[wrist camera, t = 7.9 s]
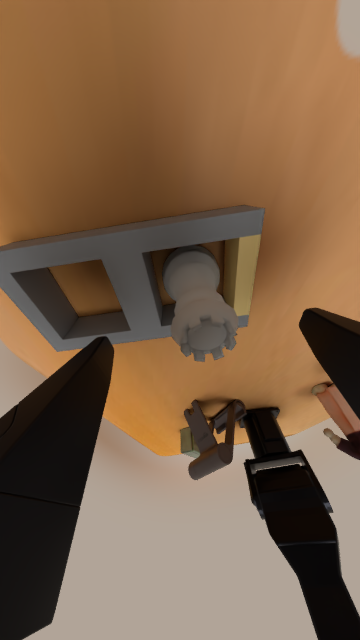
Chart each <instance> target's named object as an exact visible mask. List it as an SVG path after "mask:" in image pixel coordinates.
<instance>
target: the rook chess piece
mask: <svg viewBox="0 0 360 640" xmlns="http://www.w3.org/2000/svg"><path fill="white" fill-rule="evenodd" d="M162 277H163V283H164V287H165V290H166V291H167V293H168V294H169V295H170V297H171V298H172V299H173V300H175V301H176V306H175V310H174V312H175V317H174V318H173V321H172V325H171V328H170V330H171V334H172V338H173V339H174V340H175V341H176V343H177V344H178V345H179V346H181V352H182V353H183V354H184V355H185V356H186V357H187V356H189V355H191V352H192V353H194V360H195V361H202V362H204V361H205V355H204V354H209V353H212V354H213V357H214V360H217V359H219V358H222V357H224V355H223V352H222V349H223V348H224V347H225V346H226V349H228V350H232V349H233V348H234V346H235V345H236V341H235V339H234V336H235V335H237V334H236V331H237V329H238V316H237V314H236V312H235V310H234V309H233V308H232V307H230V306H229V305H228V304H226V303H225V302H224V300H223V298H222V296H221V295H220V294H219V293H217V292H216V290H217V287H218V285H219V282H220V269H219V267H218V264H217V262H216V260H215V258H214V255H213V254H212V253H210V252H209V251H208V250H207V249H206V248H204V247H200V246H196V245H188V246H183V247H180V248H178V249H177V250H175V251H174V252H172V253H171V254H170V255H169V257H168V258H167V260H166V261H165V263H164V266H163V271H162Z"/></svg>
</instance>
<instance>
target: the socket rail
mask: <svg viewBox="0 0 360 640" xmlns="http://www.w3.org/2000/svg"><path fill="white" fill-rule="evenodd" d="M264 213H265V208H259V207H253V206H247V205H241V206H235V207H229V208H222V209H216V210H210V211H204V212H198V213H192V214H185V215H179V216H173V217H167V218H161V219H155V220H148V221H142V222H136V223H130V224H124V225H118V226H111V227H105V228H99V229H93V230H87V231H81V232H75V233H68V234H62V235H56V236H50V237H44V238H38V239H31V240H25V241H19V242H13V243H10V244H7V245H4V246H1V247H0V287H1V289H2V290H3V291H4V292H5V293H6V294H7V295H8V296H9V298H10V299H11V300H12V301H13V302H14V303H15V304H16V306H17V307H18V308H19V309H20V310H21V311H22V312H23V314H24V315H25V316H26V317H27V318H28V319H29V320H30V322H31V323H32V324H33V325H34V326H35V327H36V328H37V329H38V331H39V332H40V333H41V334H42V335H43V336H44V337H45V339H46V340H47V341H48V342H49V343H50V344H51V345H52V347H53V348H54V349H55V350H56V351H57V352H59V351H66V350H74V349H81V348H85V347H86V346H87V345H88V344H89V343H91V342H92V341H93V340H94V339H95V338H97V337H100V336H107V337H108V339H109V340H110V342H111V344H119V343H127V342H134V341H142V340H149V339H157V338H164V337H172V334H171V330H170V328H171V325H172V321H173V318H174V317H175V312H174V310H175V306H176V304H171V305H164V306H162V301H161V297H160V293H159V289H158V284H157V280H156V276H155V272H154V267H153V263H152V259H151V255H150V251H156V250H162V249H169V248H175V247H182V246H188V245H195V244H201V243H208V242H214V241H221V240H225V256H224V288H223V297H222V298H223V300H224V302H225V303H226V304H228V305H229V306H230V307H232V308H233V309H234V310H235V312H236V314H237V316H238V328H240V327H247V324H248V318H249V311H250V305H251V298H252V292H253V285H254V279H255V272H256V265H257V259H258V252H259V246H260V239H261V233H262V226H263V219H264ZM98 259H101V260H102V262H103V265H104V267H105V269H106V272H107V274H108V277H109V279H110V281H111V284H112V286H113V288H114V291H115V293H116V296H117V298H118V300H119V303H120V305H121V308H122V310H123V311H121V312H114V313H107V314H100V315H92V316H85V317H78V315H77V314H76V312H75V311H74V309H73V307H72V306H71V304H70V303H69V301H68V300H67V298H66V297H65V295H64V293H63V292H62V290H61V289H60V287H59V286H58V284H57V282H56V281H55V279H54V278H53V276H52V275H51V273H50V271H49V270H48V268H47V267H52V266H59V265H65V264H72V263H78V262H85V261H91V260H98Z"/></svg>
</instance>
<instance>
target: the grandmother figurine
mask: <svg viewBox="0 0 360 640" xmlns="http://www.w3.org/2000/svg"><path fill="white" fill-rule="evenodd" d="M312 394H314V395H316V396H317V397H318V399H319V400H320V402H321V403H322V405H323V406H324V408H325V410H326V411H327V413H328V414H329V415H330V416H331V418H332V419H333V420H334V422H335V423H336V424H337V425H338V426H339V428H340V429H341V430H342V432H343V433H344V435H345V436H346V437H347V439H348V440H349V441H348V440H345V439H343V438H340V437H339V436H337V435H335V434H334V433H333V431H332V430H330V429H328V428H326V429H324V431H323V432H324V434H325V435H326V436H327V437H329V438H330V439H331V441H332V442H333V443H334V444H335V445H336V446H337V448H338V449H340V450H341V451H343V452H345V453H347V454H348V455H350V456H352V457H354V458H356V459H358V460H360V420H359V419H358V417H357V416H356V415H355V413H354V412H353V410H352V409H351V407H350V406H349V404H348V403H347V402H346V400H345V399H344V397H343V396H342V394H341V393H340V392H339V390H338V389H337V387H336V386H335V384H332V385H331V386H330V387H328V388H327V385H326V384H320V385H316V386H315V387H313V389H312Z"/></svg>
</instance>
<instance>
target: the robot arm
mask: <svg viewBox="0 0 360 640" xmlns="http://www.w3.org/2000/svg"><path fill="white" fill-rule="evenodd" d="M299 328H300V330H301V332H302V334H303V335H304V337H305V339H306V341H307V343H308V345H309V346H310V348H311V350H312V352H313V354H314V355H315V357H316V358H317V360H318V361H319V363H320V364H321V366H322V367H323V369H324V370H325V372H326V373H327V374H328V376H329V377H330V379H331V380H332V382H333V383H334V384H335V386H336V387H337V389H338V390H339V392H340V393H341V394H342V396H343V397H344V399H345V400H346V402H347V403H348V404H349V406H350V407H351V409H352V410H353V412H354V413H355V415H356V416H357V417H358V419H359V420H360V322H358V321H355V320H352V319H349V318H346V317H343V316H340V315H337V314H334V313H331V312H328V311H325V310H322V309H319V308H309V309H306V310H305V311H304V312H303V315H302V317H301V320H300V322H299ZM113 358H114V348H113V346H112V344H111V342H110V340H109V339H108V337H107V336H100V337H97V338H95V339H94V340H93V341H92V342H91V343H89V344H88V345H87V346H86V347H85V348H83V349H82V350H81V351H80V352H79V353H77V354H76V355H75V356H74V357H73V358H72V359H70V360H69V361H68V362H67V363H66V364H64V365H63V366H62V367H61V368H60V369H58V370H57V371H56V372H55V373H54V374H52V375H51V376H50V377H49V378H48V379H46V380H45V381H44V382H43V383H42V384H41V385H39V386H38V387H37V388H36V389H35V390H33V391H32V392H31V393H30V394H29V395H28V396H26V397H25V398H24V399H23V400H22V401H20V402H19V404H17V405H16V406H14V407H13V408H12V409H11V410H10V411H8V412H7V413H6V414H5V415H4V416H2V417H1V418H0V640H22V639H24V638H26V637H28V636H29V635H31V634H33V633H35V632H37V631H39V630H40V629H42V628H44V627H46V626H48V625H49V624H51V623H52V620H53V617H54V613H55V610H56V606H57V602H58V597H59V593H60V589H61V585H62V581H63V577H64V573H65V568H66V564H67V560H68V556H69V552H70V548H71V544H72V540H73V536H74V531H75V527H76V523H77V519H78V515H79V511H80V506H81V502H82V498H83V494H84V489H85V485H86V481H87V477H88V473H89V469H90V465H91V461H92V456H93V452H94V448H95V444H96V440H97V436H98V432H99V427H100V423H101V419H102V415H103V411H104V407H105V403H106V399H107V395H108V390H109V386H110V381H111V374H112V366H113ZM279 412H280V410H279V408H270V409H261V410H252V411H246V413H247V414H246V415H245V416H243V417H242V418H241V419H240V424H239V426H240V428H245V429H246V432H247V435H248V438H249V442H250V445H251V448H252V451H253V454H254V457H255V459H250V460H249V459H246V460H245V461H246V462H244V466H245V470H246V474H247V479H248V484H249V490H250V496H251V501H252V503H253V504H254V505H255V506H256V508H257V510H258V512H259V514H260V516H261V518H262V519H265V521H266V524H267V527H268V531H269V533H270V535H271V537H272V539H273V540H274V541H275V543H276V545H277V546H278V548H279V549H280V551H281V552H282V554H283V555H284V557H285V558H286V560H287V561H288V563H289V564H290V566H291V567H292V569H293V570H294V572H295V573H296V575H297V577H298V579H299V582H300V585H301V588H302V592H303V595H304V597H305V601H306V604H307V607H308V610H309V613H310V616H311V619H312V622H313V625H314V628H315V632H316V635H317V638H318V640H360V616H359V614H358V612H357V610H356V607H355V605H354V603H353V601H352V599H351V597H350V594H349V592H348V590H347V588H346V585H345V583H344V581H343V579H342V573H341V562H340V552H339V542H338V536H337V531H336V527H335V525H334V523H333V521H332V519H331V517H330V515H329V513H333V510H332V507H331V505H330V503H329V501H328V499H327V497H326V494H325V493H324V491H323V489H322V487H321V485H320V483H319V481H318V479H317V477H316V476H315V474H314V472H313V470H312V469H311V466H310V465H309V463H308V461H307V459H306V457H305V456H304V454H303V452H302V450H298V451H294V452H291V450H290V448H289V446H288V444H287V442H286V439H285V437H284V435H283V433H282V431H281V429H280V427H279V424H278V422H277V420H276V418H277V416H278V414H279ZM300 462H301V463H302V466H300V465H299V464H294V463H300ZM288 464H294V465H288ZM282 465H288V466H282ZM276 466H282V467H276ZM270 467H276V468H270ZM264 468H270V469H264ZM258 469H263V470H258ZM256 470H257V471H256Z"/></svg>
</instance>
